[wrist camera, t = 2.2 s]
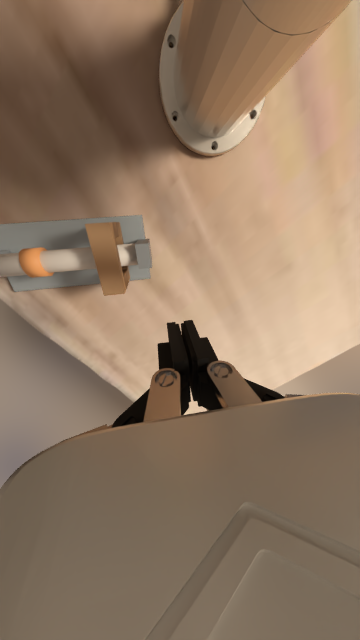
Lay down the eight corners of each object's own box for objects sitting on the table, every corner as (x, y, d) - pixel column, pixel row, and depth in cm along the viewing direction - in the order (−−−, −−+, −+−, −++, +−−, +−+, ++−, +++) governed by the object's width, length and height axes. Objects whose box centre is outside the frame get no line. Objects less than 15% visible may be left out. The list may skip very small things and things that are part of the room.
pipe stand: (-13, 225, 25) (-75, 226, 18) (146, 214, 27) (144, 212, 20) (18, 289, 29) (-22, 310, 22) (154, 276, 31) (155, 291, 24)
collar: (101, 223, 25) (84, 223, 19) (119, 222, 25) (109, 222, 19) (114, 279, 28) (104, 295, 22) (130, 277, 29) (124, 293, 22)
